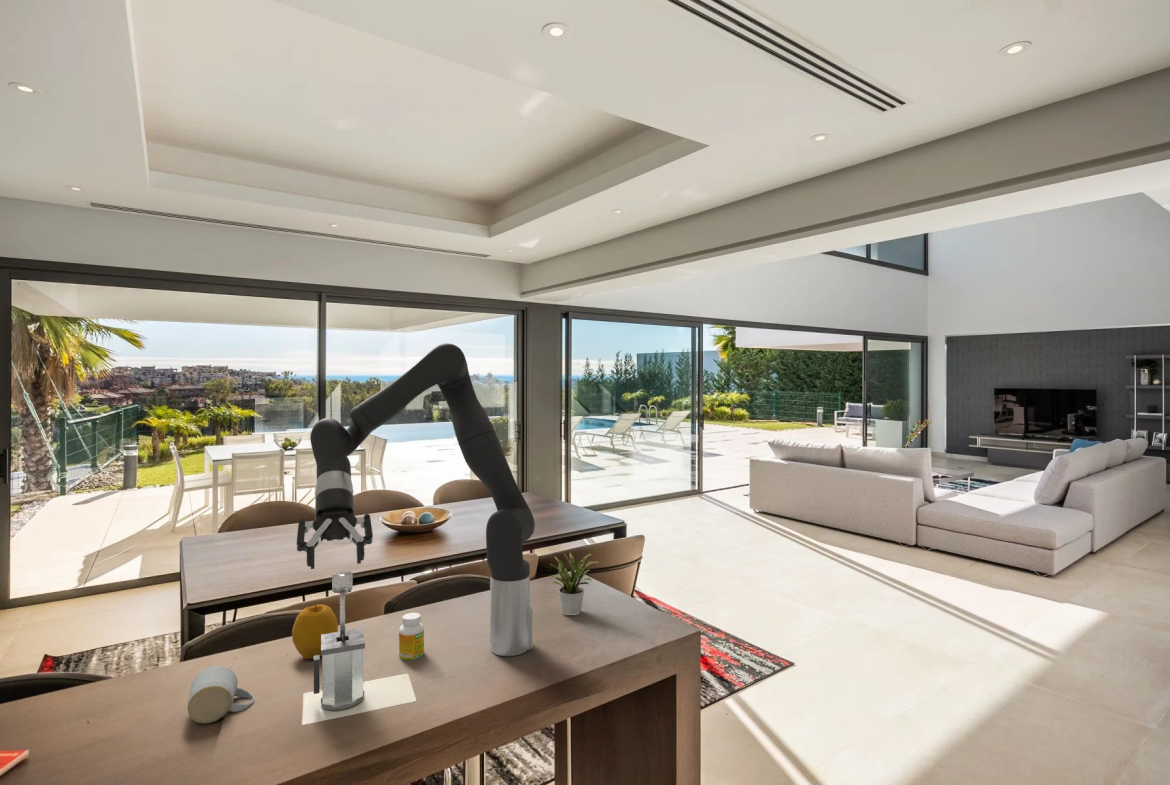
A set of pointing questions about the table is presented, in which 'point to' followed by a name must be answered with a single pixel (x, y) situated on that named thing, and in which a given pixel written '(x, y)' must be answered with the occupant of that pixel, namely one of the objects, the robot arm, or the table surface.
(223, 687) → the ceramic mug
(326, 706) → the press
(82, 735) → the table surface
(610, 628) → the table surface
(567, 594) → the house plant
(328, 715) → the plate
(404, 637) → the supplement bottle
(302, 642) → the apple
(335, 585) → the plunger
